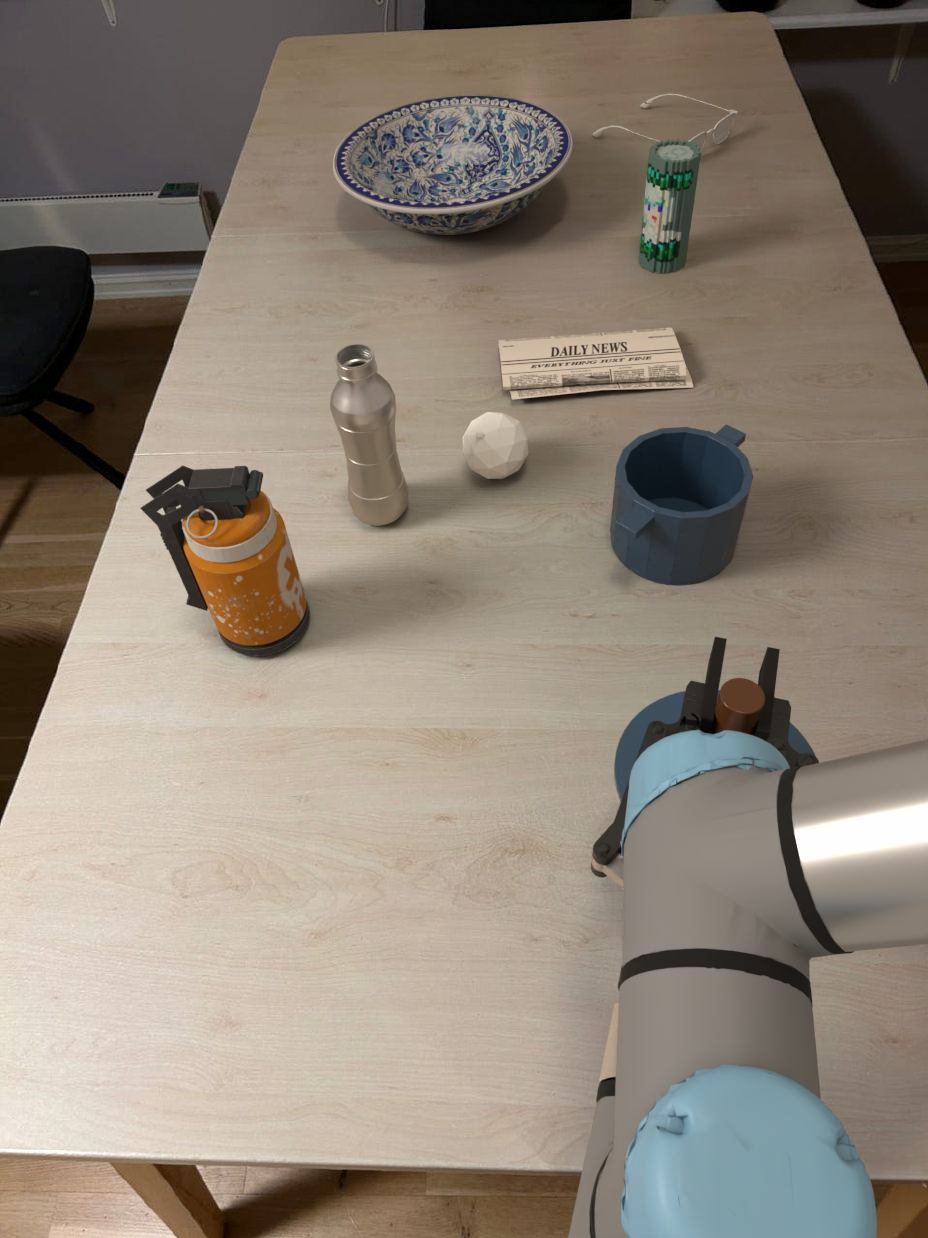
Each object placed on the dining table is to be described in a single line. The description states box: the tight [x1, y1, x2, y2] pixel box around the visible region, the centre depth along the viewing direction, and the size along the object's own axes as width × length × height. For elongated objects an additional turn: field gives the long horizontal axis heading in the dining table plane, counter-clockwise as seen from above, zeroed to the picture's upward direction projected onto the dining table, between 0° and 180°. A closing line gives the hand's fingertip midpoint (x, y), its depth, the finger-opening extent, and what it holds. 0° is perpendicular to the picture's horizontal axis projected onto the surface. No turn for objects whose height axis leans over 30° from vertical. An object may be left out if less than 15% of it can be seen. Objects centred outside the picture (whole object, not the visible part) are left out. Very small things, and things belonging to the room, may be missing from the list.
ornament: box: [461, 411, 529, 480], centre depth 101 cm, size 7×7×8 cm
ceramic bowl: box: [332, 94, 574, 236], centre depth 136 cm, size 34×34×10 cm
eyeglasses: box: [592, 93, 739, 153], centre depth 150 cm, size 15×18×4 cm
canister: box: [139, 465, 311, 657], centre depth 84 cm, size 9×11×20 cm
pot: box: [609, 424, 754, 586], centre depth 93 cm, size 13×18×10 cm
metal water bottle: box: [329, 343, 409, 527], centre depth 93 cm, size 6×7×20 cm
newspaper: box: [497, 327, 694, 400], centre depth 114 cm, size 23×12×2 cm, turn 92°
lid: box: [613, 677, 817, 803], centre depth 59 cm, size 14×14×10 cm
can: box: [638, 138, 702, 274], centre depth 123 cm, size 6×6×15 cm
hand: (743, 656), depth 61 cm, fingers closed on lid, 3 cm apart
